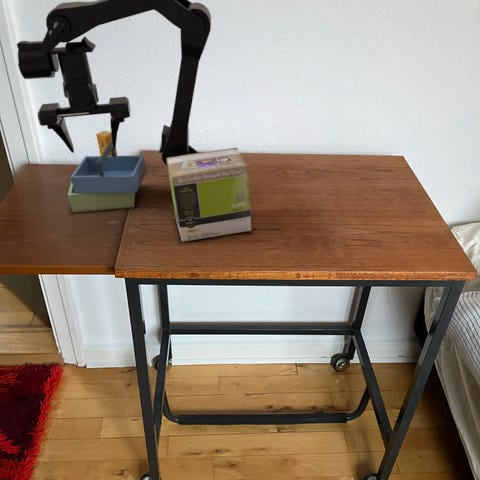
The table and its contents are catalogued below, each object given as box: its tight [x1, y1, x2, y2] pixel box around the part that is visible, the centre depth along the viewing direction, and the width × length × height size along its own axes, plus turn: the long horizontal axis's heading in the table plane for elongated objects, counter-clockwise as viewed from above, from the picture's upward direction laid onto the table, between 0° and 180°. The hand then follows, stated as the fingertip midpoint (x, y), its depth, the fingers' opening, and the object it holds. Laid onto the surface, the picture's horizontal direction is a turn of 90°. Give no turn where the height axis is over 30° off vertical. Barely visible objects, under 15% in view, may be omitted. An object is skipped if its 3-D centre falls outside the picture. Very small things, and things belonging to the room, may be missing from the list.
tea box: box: [166, 147, 252, 243], centre depth 110 cm, size 15×10×15 cm
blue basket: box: [70, 141, 147, 194], centre depth 120 cm, size 14×11×7 cm
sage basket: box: [67, 181, 136, 214], centre depth 125 cm, size 14×11×4 cm
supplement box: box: [96, 130, 118, 156], centre depth 135 cm, size 3×3×10 cm
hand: (94, 150), depth 119 cm, fingers open, 9 cm apart
